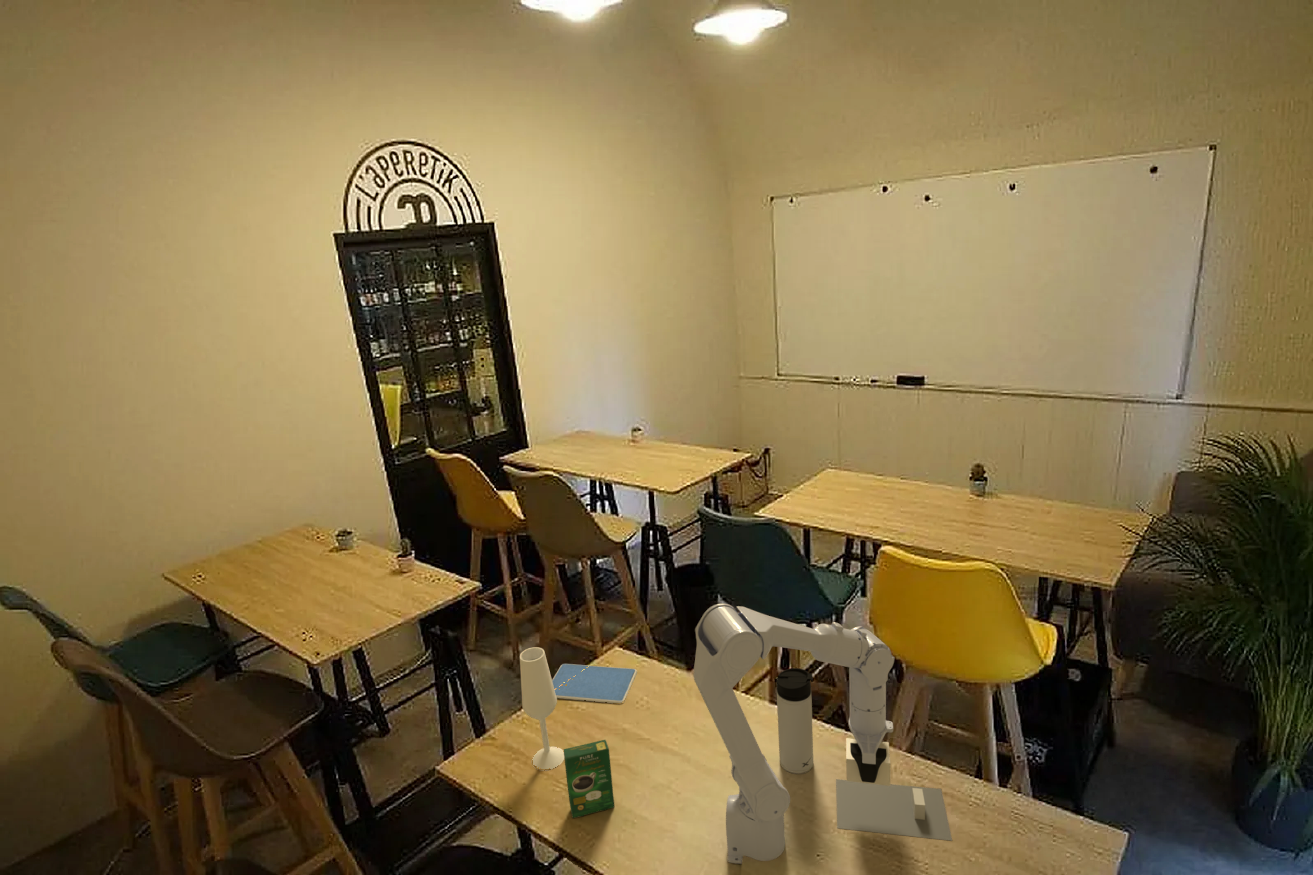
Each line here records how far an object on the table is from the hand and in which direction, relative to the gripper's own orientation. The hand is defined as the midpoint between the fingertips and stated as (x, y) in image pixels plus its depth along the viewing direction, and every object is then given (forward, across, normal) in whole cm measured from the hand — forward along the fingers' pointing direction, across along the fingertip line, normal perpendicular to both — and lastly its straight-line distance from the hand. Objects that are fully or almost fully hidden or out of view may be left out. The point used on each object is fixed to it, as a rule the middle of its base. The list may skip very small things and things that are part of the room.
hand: (867, 768), depth 119 cm
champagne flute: (+9, +3, +61) cm, 62 cm away
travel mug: (+9, +9, +12) cm, 18 cm away
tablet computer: (+10, +27, +61) cm, 67 cm away
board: (+9, 0, -4) cm, 10 cm away
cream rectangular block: (+1, 0, 0) cm, 1 cm away
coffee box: (+9, -8, +48) cm, 49 cm away
